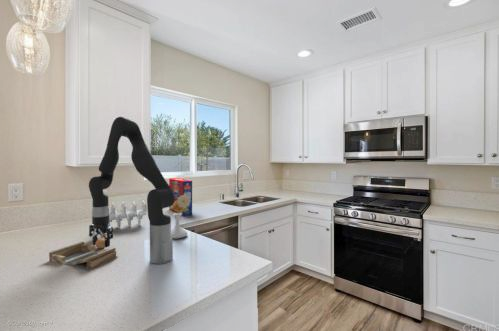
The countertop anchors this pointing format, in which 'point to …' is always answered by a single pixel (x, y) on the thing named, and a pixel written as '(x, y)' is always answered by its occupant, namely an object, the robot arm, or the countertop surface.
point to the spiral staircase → (127, 214)
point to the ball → (100, 243)
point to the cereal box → (180, 189)
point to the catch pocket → (69, 252)
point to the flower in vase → (177, 230)
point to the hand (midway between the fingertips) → (101, 245)
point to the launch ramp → (98, 258)
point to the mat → (77, 257)
